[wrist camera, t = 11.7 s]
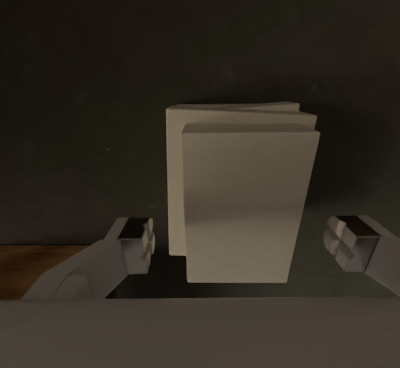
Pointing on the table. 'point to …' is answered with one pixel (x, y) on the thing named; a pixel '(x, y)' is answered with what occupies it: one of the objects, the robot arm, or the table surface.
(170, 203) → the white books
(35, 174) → the table surface
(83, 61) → the table surface
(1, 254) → the oak stand
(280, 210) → the beige flat block
